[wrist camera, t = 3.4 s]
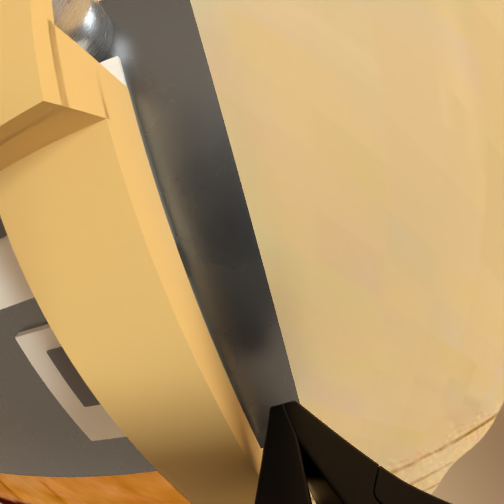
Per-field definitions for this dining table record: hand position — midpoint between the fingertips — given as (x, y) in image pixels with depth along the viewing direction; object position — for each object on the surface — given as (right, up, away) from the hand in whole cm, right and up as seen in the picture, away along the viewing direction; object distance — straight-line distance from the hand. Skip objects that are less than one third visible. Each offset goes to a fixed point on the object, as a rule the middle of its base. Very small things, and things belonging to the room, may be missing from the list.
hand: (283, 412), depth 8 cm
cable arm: (-3, +3, -1) cm, 5 cm away
